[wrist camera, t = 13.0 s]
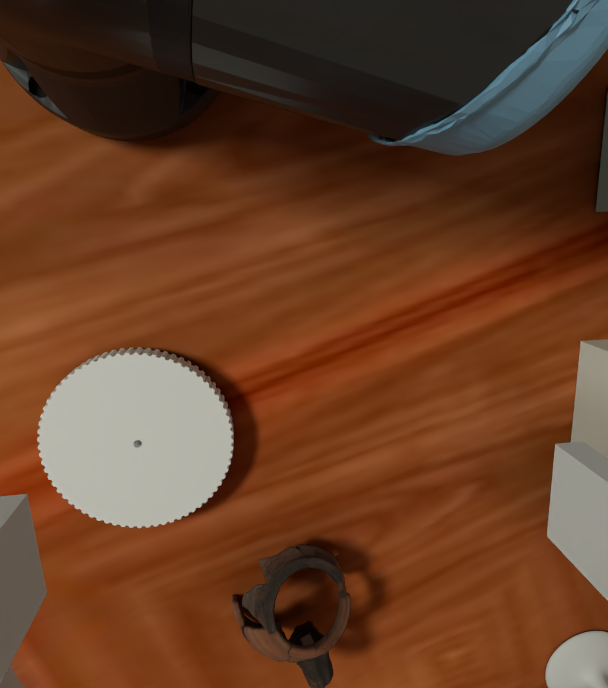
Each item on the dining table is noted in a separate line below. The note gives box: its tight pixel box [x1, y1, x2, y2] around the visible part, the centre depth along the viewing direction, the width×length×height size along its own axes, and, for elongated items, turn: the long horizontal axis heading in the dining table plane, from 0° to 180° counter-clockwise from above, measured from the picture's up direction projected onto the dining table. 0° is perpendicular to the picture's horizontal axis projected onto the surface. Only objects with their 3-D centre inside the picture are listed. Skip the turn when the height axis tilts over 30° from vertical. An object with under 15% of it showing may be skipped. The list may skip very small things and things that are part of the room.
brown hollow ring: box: [232, 544, 351, 688], centre depth 43 cm, size 12×9×8 cm
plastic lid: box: [37, 347, 234, 528], centre depth 39 cm, size 14×14×2 cm
